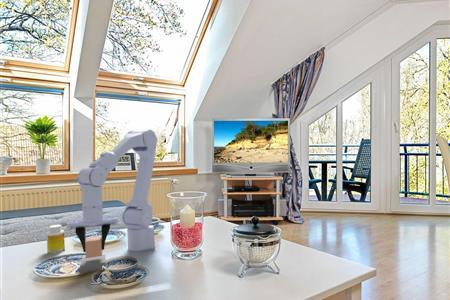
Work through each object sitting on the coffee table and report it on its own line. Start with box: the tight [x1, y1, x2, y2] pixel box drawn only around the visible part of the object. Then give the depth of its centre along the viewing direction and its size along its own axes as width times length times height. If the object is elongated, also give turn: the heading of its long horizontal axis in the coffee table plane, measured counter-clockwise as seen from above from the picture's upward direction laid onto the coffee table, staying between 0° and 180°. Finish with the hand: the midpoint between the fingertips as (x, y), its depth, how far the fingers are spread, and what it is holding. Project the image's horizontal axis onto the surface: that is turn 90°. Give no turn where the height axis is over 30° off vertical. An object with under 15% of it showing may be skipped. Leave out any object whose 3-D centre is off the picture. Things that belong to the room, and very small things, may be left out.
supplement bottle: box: [46, 224, 66, 254], centre depth 114 cm, size 6×6×10 cm
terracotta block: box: [85, 235, 103, 258], centre depth 98 cm, size 4×4×5 cm
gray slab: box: [79, 254, 107, 273], centre depth 98 cm, size 7×7×2 cm
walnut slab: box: [78, 269, 102, 275], centre depth 98 cm, size 8×8×2 cm
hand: (94, 250), depth 98 cm, fingers closed on terracotta block, 4 cm apart
